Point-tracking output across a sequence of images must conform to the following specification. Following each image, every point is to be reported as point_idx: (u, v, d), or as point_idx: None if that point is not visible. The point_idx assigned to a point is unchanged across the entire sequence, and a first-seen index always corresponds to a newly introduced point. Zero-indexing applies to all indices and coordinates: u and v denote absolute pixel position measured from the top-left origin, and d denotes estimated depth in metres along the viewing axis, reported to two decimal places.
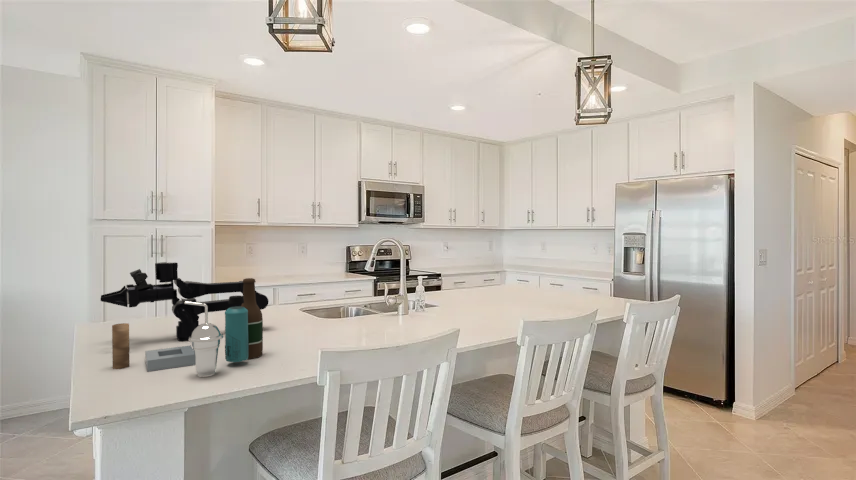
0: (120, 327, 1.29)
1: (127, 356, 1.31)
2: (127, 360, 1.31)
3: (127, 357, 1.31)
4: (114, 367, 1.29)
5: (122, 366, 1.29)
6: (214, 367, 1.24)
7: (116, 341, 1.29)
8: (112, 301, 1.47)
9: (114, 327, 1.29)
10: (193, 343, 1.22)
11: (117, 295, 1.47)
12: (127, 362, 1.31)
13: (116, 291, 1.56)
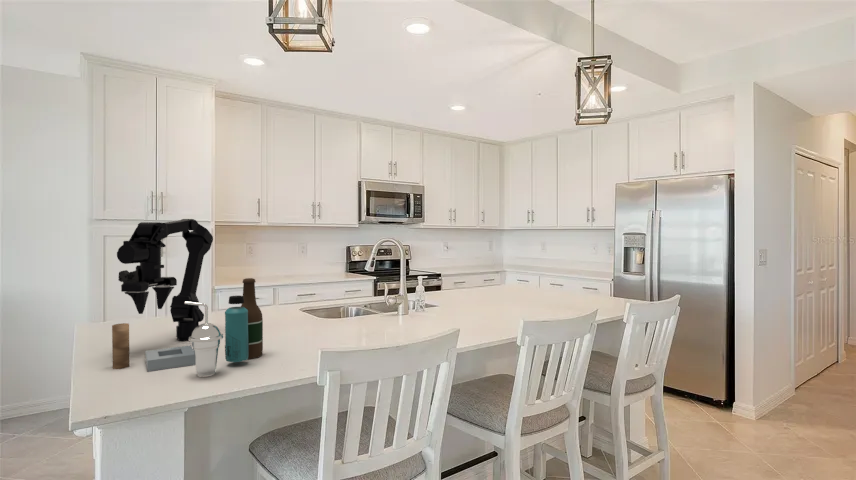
0: (120, 327, 1.29)
1: (127, 356, 1.31)
2: (127, 360, 1.31)
3: (127, 357, 1.31)
4: (114, 367, 1.29)
5: (122, 366, 1.29)
6: (214, 367, 1.24)
7: (116, 341, 1.29)
8: (141, 304, 1.40)
9: (114, 327, 1.29)
10: (193, 343, 1.22)
11: (134, 300, 1.40)
12: (127, 362, 1.31)
13: None
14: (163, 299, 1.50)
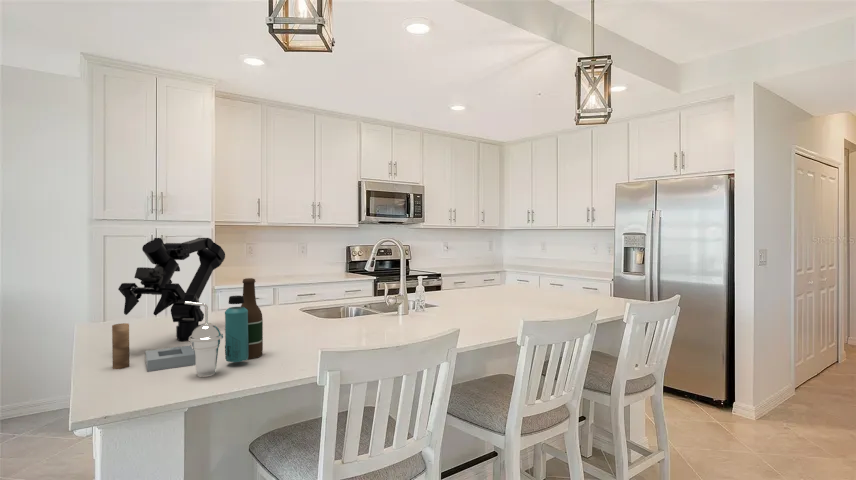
0: (120, 327, 1.29)
1: (127, 356, 1.31)
2: (127, 360, 1.31)
3: (127, 357, 1.31)
4: (114, 367, 1.29)
5: (122, 366, 1.29)
6: (214, 367, 1.24)
7: (116, 341, 1.29)
8: (163, 307, 1.41)
9: (114, 327, 1.29)
10: (193, 343, 1.22)
11: (164, 301, 1.41)
12: (127, 362, 1.31)
13: (128, 299, 1.41)
14: (132, 307, 1.42)
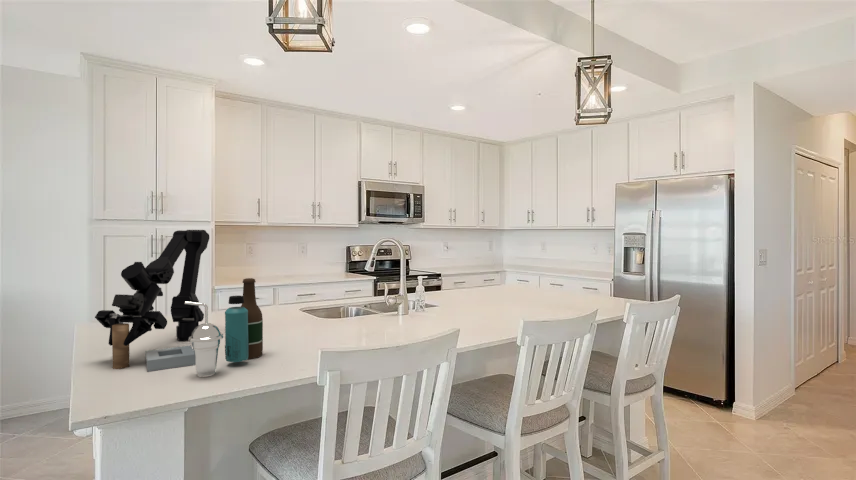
0: (120, 327, 1.29)
1: (127, 356, 1.31)
2: (127, 360, 1.31)
3: (127, 357, 1.31)
4: (114, 367, 1.29)
5: (122, 366, 1.29)
6: (214, 367, 1.24)
7: (116, 341, 1.29)
8: (135, 337, 1.32)
9: (114, 327, 1.29)
10: (193, 343, 1.22)
11: (135, 330, 1.31)
12: (127, 362, 1.31)
13: None
14: None
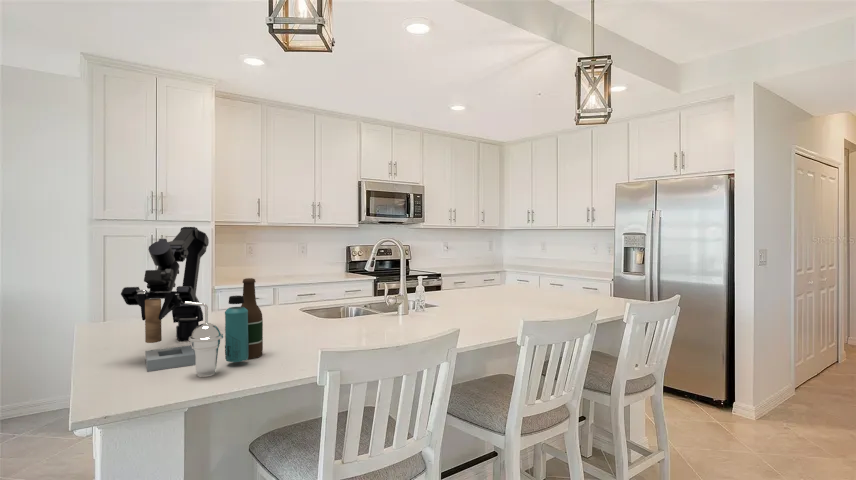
0: (155, 302, 1.31)
1: (160, 330, 1.33)
2: (160, 334, 1.33)
3: (160, 331, 1.33)
4: (148, 341, 1.31)
5: (157, 340, 1.32)
6: (214, 367, 1.24)
7: (151, 316, 1.31)
8: (167, 311, 1.35)
9: (149, 302, 1.31)
10: (193, 343, 1.22)
11: (168, 304, 1.34)
12: (160, 336, 1.33)
13: (144, 304, 1.33)
14: None
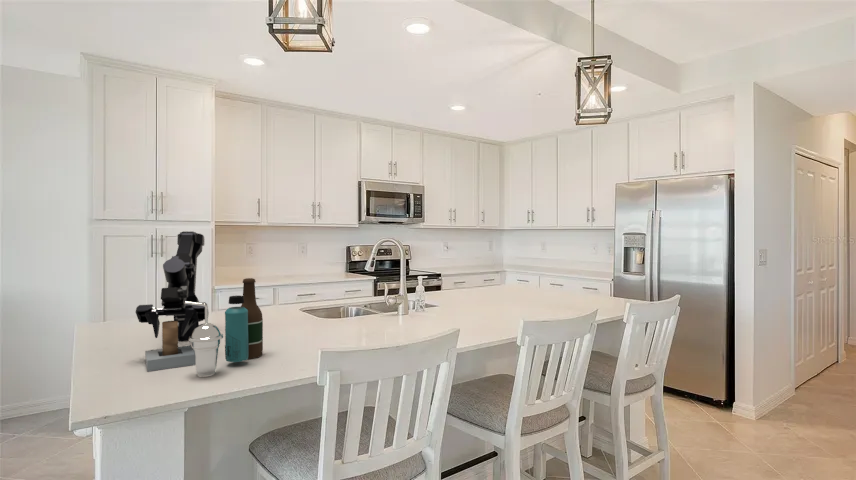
0: (173, 324, 1.34)
1: (177, 352, 1.36)
2: None
3: (177, 353, 1.36)
4: None
5: None
6: (214, 367, 1.24)
7: (169, 338, 1.33)
8: (187, 328, 1.38)
9: (167, 324, 1.33)
10: (193, 343, 1.22)
11: None
12: None
13: (155, 321, 1.34)
14: (158, 330, 1.35)
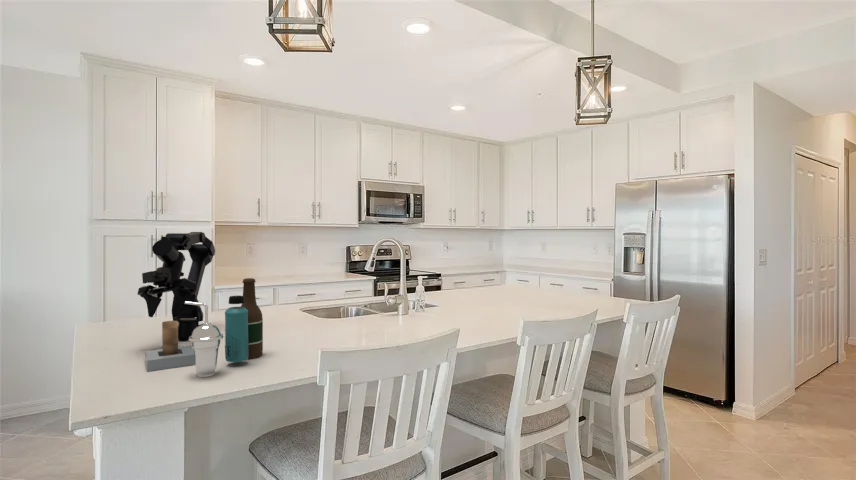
0: (173, 324, 1.34)
1: (177, 352, 1.36)
2: None
3: (177, 353, 1.36)
4: None
5: None
6: (214, 367, 1.24)
7: (169, 338, 1.33)
8: (180, 303, 1.44)
9: (167, 324, 1.33)
10: (193, 343, 1.22)
11: (177, 298, 1.43)
12: None
13: (148, 302, 1.46)
14: (155, 308, 1.47)
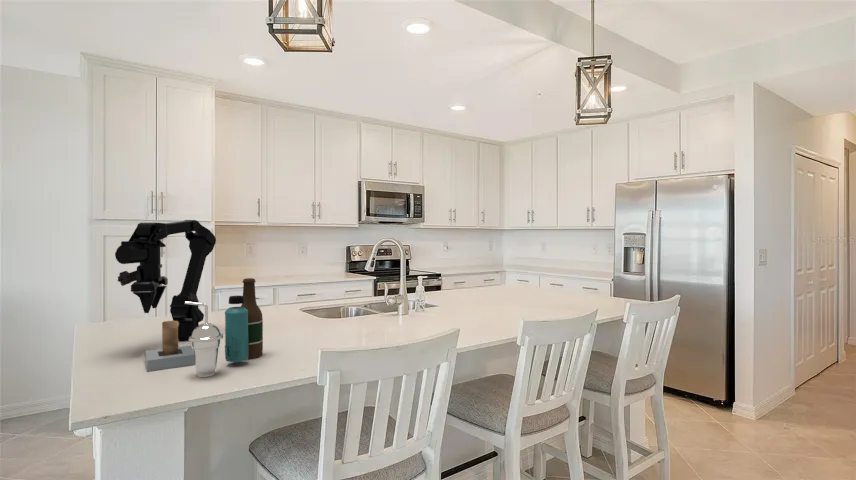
0: (173, 324, 1.34)
1: (177, 352, 1.36)
2: None
3: (177, 353, 1.36)
4: None
5: None
6: (214, 367, 1.24)
7: (169, 338, 1.33)
8: (149, 303, 1.42)
9: (167, 324, 1.33)
10: (193, 343, 1.22)
11: (141, 299, 1.41)
12: None
13: None
14: (158, 298, 1.52)
